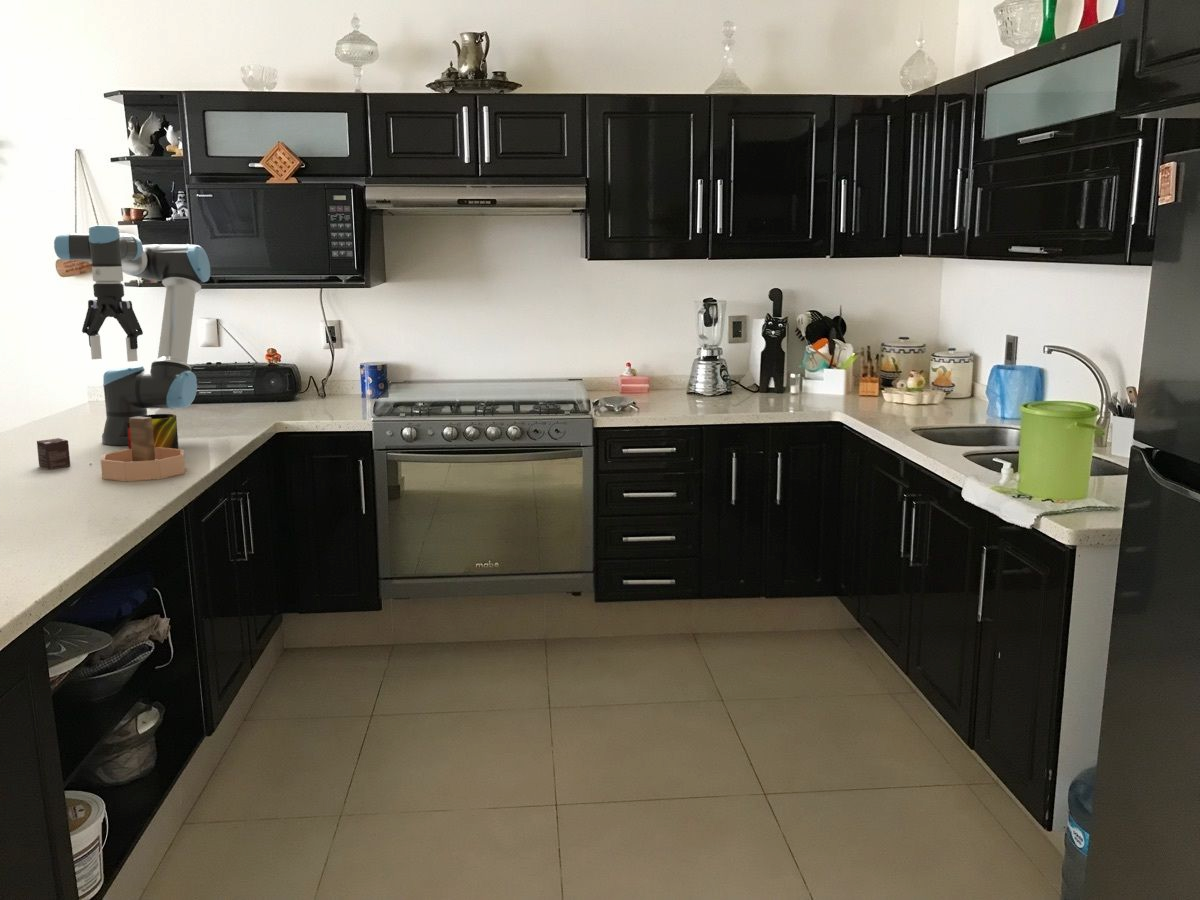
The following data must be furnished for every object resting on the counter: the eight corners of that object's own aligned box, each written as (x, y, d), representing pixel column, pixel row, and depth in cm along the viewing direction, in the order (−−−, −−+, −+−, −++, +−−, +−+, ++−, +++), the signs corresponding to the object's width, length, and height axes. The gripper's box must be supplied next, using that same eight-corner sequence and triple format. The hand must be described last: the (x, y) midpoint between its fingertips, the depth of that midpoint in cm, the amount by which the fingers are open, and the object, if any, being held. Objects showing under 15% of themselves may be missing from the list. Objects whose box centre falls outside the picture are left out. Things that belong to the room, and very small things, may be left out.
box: (61, 463, 285) (59, 437, 283) (71, 466, 281) (68, 440, 280) (38, 466, 280) (36, 440, 279) (48, 469, 276) (45, 443, 275)
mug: (130, 455, 297) (126, 415, 294) (180, 453, 300) (178, 413, 298) (124, 462, 287) (121, 420, 285) (177, 459, 291) (174, 418, 289)
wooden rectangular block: (142, 467, 275) (138, 416, 272) (155, 469, 273) (151, 417, 270) (133, 469, 272) (128, 417, 270) (146, 471, 270) (142, 419, 268)
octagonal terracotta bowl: (146, 462, 286) (145, 445, 285) (202, 469, 278) (201, 451, 277) (84, 476, 268) (83, 458, 267) (142, 483, 260) (141, 464, 259)
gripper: (63, 282, 280) (70, 359, 284) (130, 283, 271) (136, 363, 274) (86, 281, 287) (93, 356, 291) (153, 283, 277) (158, 360, 281)
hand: (114, 360), depth 283 cm, fingers open, 13 cm apart
